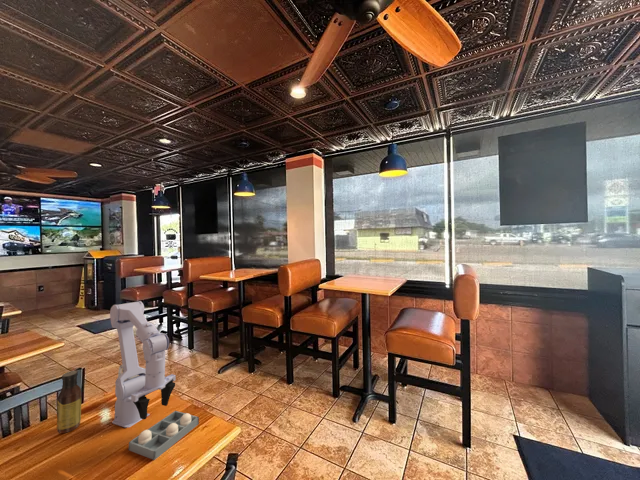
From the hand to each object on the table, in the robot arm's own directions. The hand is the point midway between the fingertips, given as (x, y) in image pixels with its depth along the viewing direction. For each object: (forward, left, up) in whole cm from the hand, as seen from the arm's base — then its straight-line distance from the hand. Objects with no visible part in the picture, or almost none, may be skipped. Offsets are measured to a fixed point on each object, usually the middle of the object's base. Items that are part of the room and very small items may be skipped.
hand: (154, 411), depth 87 cm
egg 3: (+7, +7, -8) cm, 13 cm away
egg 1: (+2, -4, -8) cm, 9 cm away
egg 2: (+7, +1, -8) cm, 11 cm away
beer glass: (-31, +12, -9) cm, 35 cm away
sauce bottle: (-33, -7, -9) cm, 35 cm away
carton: (+4, +1, -9) cm, 10 cm away
